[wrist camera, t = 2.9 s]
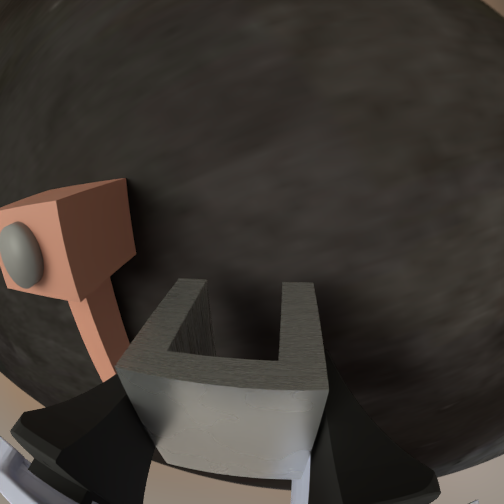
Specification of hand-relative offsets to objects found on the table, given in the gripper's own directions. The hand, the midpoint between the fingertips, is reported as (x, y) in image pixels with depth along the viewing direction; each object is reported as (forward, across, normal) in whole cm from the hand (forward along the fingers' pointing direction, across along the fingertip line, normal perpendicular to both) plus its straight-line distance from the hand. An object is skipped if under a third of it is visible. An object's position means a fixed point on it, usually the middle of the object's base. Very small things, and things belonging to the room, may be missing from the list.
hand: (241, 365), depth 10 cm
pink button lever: (+4, +9, 0) cm, 10 cm away
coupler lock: (+2, 0, 0) cm, 2 cm away
